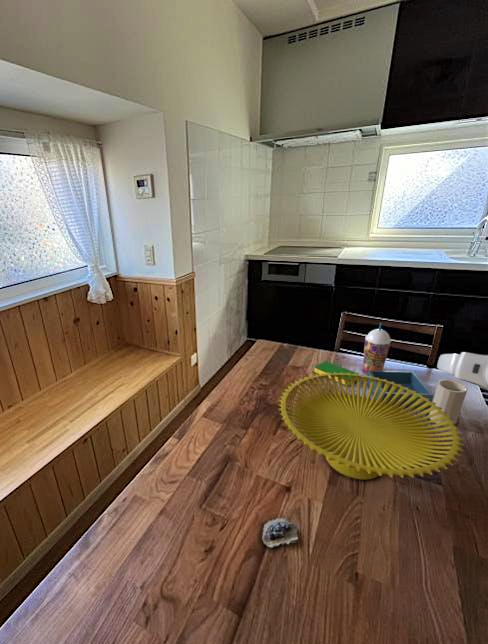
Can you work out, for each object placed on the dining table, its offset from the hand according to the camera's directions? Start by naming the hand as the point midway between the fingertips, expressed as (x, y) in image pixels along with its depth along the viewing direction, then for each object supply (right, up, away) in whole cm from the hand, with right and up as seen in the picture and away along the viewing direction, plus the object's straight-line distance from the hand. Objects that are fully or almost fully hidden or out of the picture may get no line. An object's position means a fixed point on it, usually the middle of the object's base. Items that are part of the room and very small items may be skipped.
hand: (474, 370), depth 88 cm
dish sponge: (-19, -6, +39) cm, 44 cm away
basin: (-4, -11, +26) cm, 29 cm away
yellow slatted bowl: (-31, -24, +2) cm, 39 cm away
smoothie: (-5, -5, +41) cm, 41 cm away
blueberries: (-56, -34, -16) cm, 67 cm away
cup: (+2, -16, +13) cm, 21 cm away
